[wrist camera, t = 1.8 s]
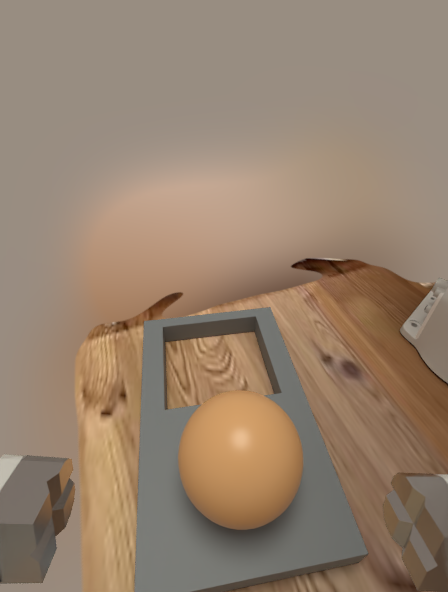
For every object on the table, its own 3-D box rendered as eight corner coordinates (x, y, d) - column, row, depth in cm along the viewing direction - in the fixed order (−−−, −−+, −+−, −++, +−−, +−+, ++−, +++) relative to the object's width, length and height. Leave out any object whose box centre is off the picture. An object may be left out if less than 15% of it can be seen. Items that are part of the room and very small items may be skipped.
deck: (358, 562, 28) (368, 553, 26) (140, 609, 25) (134, 603, 23) (268, 322, 49) (270, 307, 47) (147, 336, 47) (144, 321, 45)
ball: (223, 409, 35) (223, 348, 29) (311, 463, 31) (334, 405, 24) (160, 495, 29) (141, 441, 22) (259, 578, 24) (272, 541, 18)
